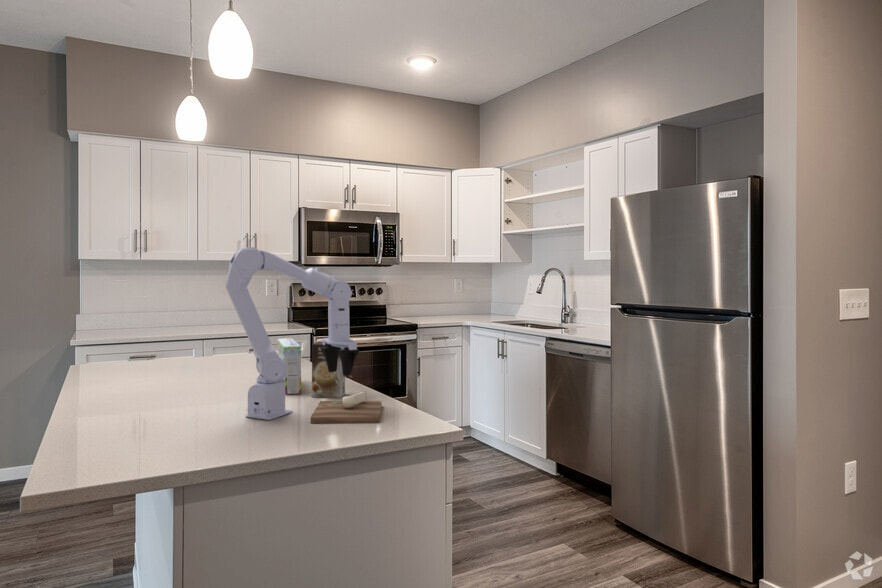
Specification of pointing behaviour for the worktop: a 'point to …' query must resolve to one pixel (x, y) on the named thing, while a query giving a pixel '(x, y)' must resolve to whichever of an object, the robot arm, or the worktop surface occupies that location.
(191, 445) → the worktop surface
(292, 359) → the snack box
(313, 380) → the coffee box
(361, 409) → the board
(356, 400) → the white bulb ended bar
